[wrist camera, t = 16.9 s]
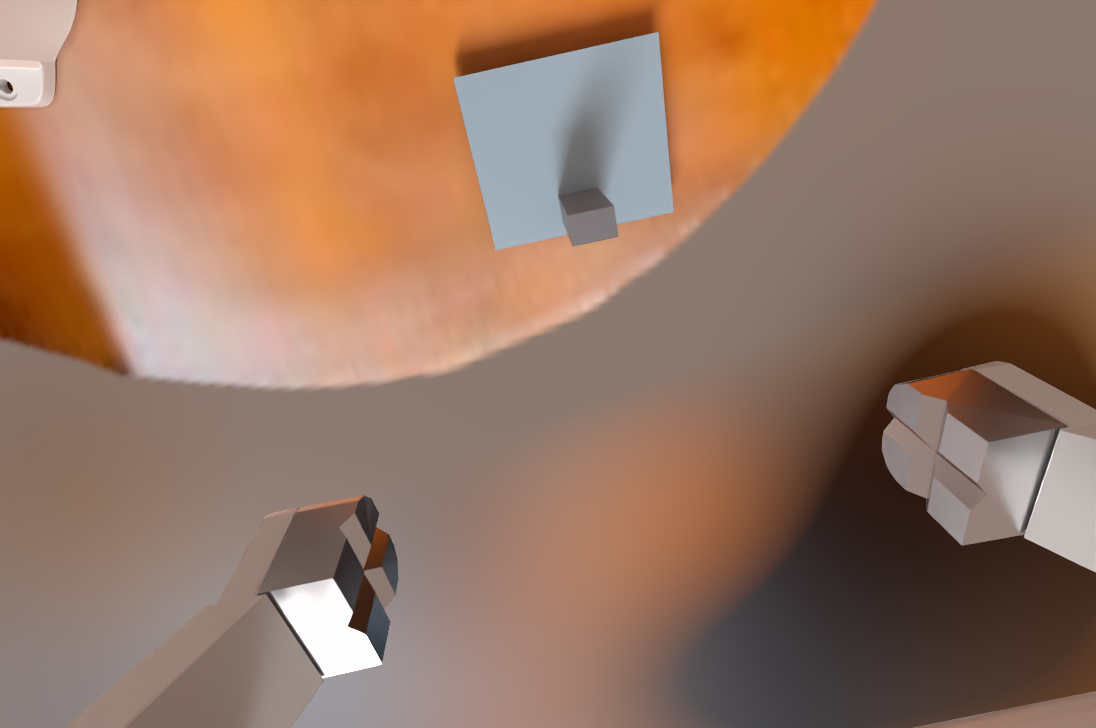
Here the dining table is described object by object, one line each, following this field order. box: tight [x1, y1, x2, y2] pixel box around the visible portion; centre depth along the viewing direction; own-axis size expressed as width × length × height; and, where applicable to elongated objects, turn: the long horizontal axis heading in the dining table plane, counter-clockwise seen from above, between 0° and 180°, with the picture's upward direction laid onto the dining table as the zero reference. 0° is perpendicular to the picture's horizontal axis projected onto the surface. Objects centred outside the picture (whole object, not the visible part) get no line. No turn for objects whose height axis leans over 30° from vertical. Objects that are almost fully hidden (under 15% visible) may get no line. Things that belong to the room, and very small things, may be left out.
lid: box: [453, 32, 674, 250], centre depth 36 cm, size 14×12×9 cm
